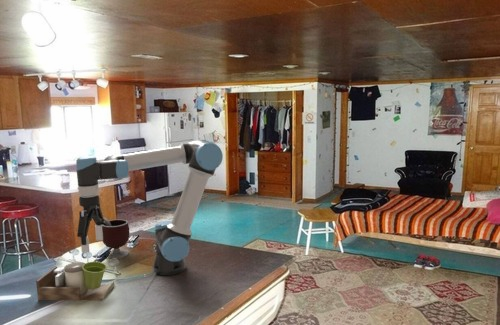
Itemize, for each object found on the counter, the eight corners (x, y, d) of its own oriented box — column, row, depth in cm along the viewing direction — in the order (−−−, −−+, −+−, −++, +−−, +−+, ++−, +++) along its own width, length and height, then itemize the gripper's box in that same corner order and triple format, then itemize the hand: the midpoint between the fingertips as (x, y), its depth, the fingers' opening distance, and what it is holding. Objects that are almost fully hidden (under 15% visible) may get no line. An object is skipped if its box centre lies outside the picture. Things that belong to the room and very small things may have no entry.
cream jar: (90, 286, 170) (89, 262, 168) (82, 296, 162) (80, 270, 160) (71, 286, 170) (70, 261, 168) (62, 295, 162) (60, 270, 160)
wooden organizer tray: (115, 286, 172) (114, 267, 170) (102, 302, 158) (100, 281, 157) (56, 286, 173) (54, 266, 172) (38, 302, 159) (36, 280, 158)
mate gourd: (135, 251, 213) (133, 215, 210) (119, 260, 200) (117, 222, 197) (111, 248, 218) (109, 212, 215) (94, 257, 205) (91, 219, 202)
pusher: (73, 284, 171) (71, 263, 170) (59, 297, 160) (57, 274, 158) (65, 284, 171) (63, 263, 170) (50, 297, 160) (48, 274, 158)
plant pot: (95, 294, 159) (98, 274, 158) (75, 287, 161) (77, 268, 159) (108, 284, 168) (111, 265, 167) (88, 278, 170) (91, 259, 169)
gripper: (92, 188, 172) (96, 235, 175) (64, 203, 147) (69, 257, 150) (109, 188, 172) (113, 235, 175) (84, 203, 147) (88, 257, 150)
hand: (92, 246), depth 163 cm, fingers open, 13 cm apart
